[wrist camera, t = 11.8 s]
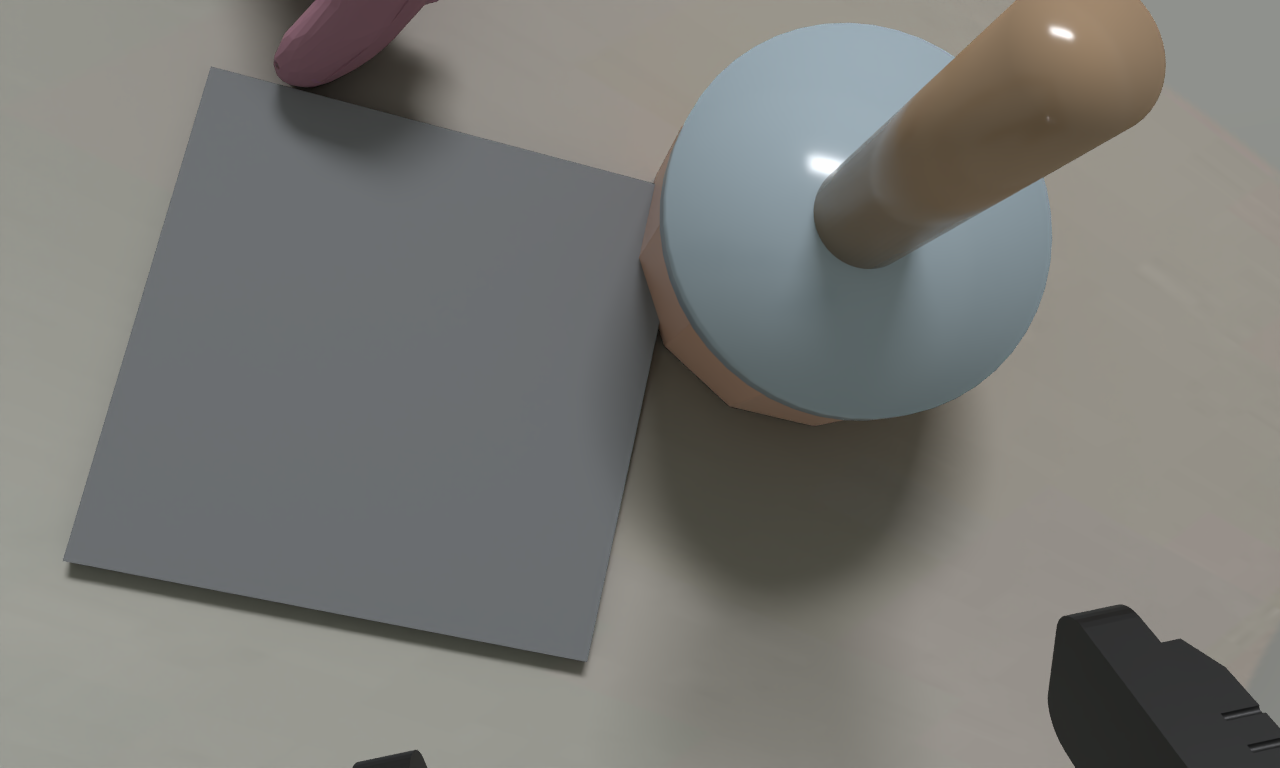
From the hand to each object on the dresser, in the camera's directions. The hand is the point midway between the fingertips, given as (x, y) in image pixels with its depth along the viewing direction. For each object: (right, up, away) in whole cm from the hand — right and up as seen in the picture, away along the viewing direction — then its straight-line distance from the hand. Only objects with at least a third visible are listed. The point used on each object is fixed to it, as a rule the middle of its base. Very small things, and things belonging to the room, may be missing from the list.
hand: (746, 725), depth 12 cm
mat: (-8, +5, +15) cm, 18 cm away
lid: (+4, +8, +13) cm, 16 cm away
